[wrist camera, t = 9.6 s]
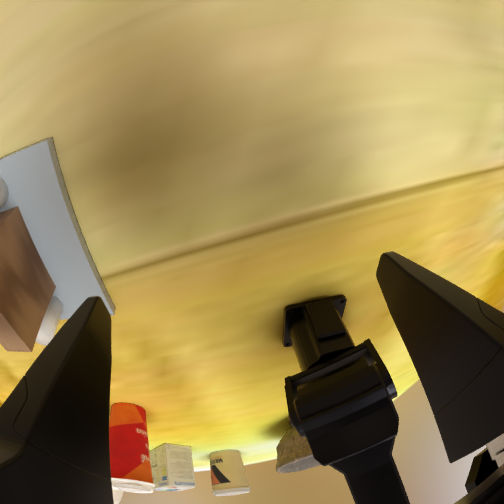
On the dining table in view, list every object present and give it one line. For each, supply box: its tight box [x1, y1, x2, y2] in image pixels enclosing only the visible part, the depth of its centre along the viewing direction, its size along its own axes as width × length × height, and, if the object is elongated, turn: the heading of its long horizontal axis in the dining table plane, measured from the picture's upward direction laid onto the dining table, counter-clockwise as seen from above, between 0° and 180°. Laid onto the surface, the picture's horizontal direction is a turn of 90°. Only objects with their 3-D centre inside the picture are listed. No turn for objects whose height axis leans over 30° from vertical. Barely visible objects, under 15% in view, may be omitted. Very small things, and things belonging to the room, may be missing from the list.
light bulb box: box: [150, 443, 196, 491], centre depth 48 cm, size 11×7×11 cm, turn 143°
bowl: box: [276, 426, 321, 473], centre depth 47 cm, size 21×21×10 cm
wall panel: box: [0, 137, 115, 345], centre depth 17 cm, size 16×11×5 cm
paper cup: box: [109, 403, 155, 493], centre depth 31 cm, size 8×8×14 cm
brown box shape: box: [0, 206, 56, 352], centre depth 15 cm, size 8×3×7 cm, turn 3°
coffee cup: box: [210, 450, 250, 496], centre depth 54 cm, size 9×9×12 cm
